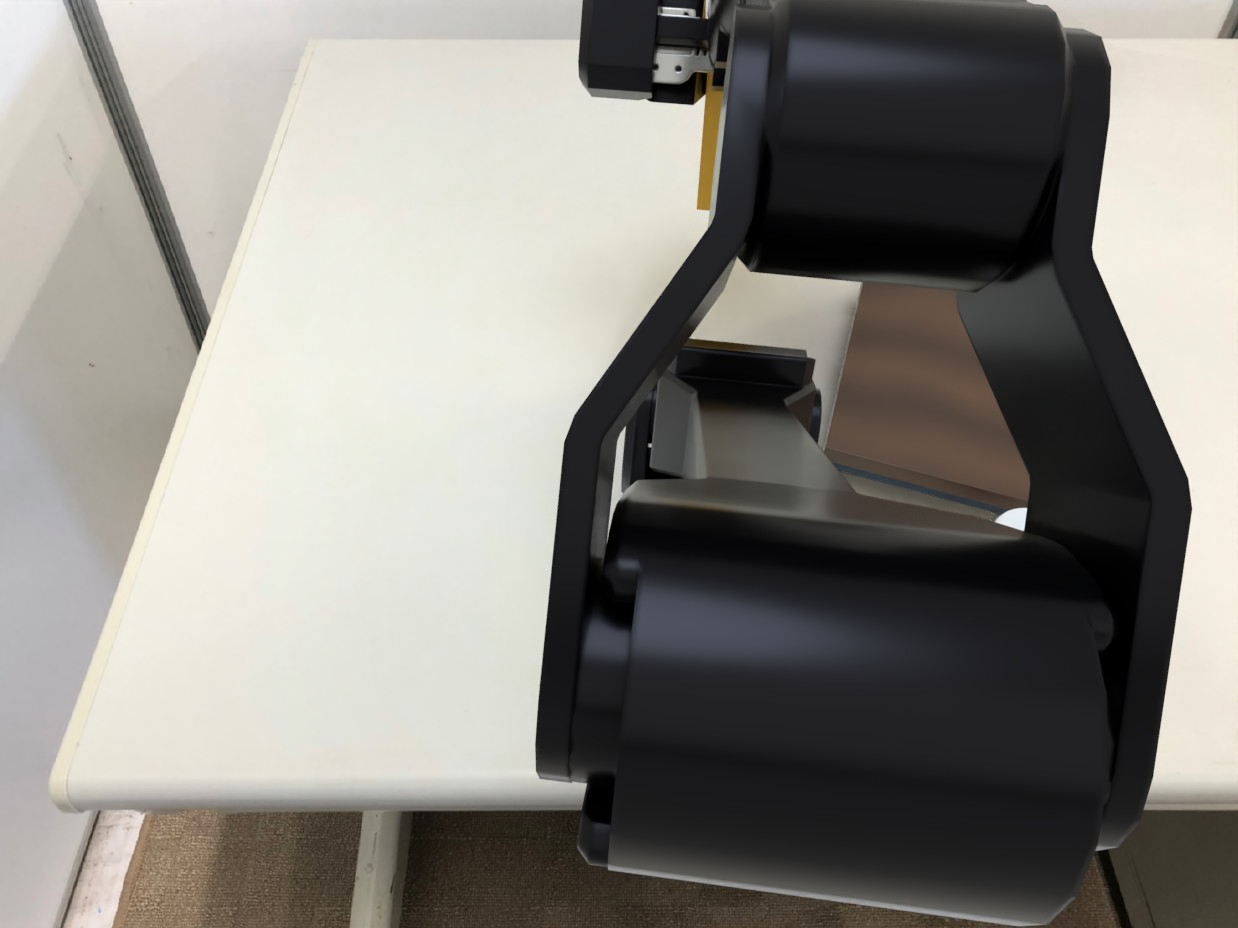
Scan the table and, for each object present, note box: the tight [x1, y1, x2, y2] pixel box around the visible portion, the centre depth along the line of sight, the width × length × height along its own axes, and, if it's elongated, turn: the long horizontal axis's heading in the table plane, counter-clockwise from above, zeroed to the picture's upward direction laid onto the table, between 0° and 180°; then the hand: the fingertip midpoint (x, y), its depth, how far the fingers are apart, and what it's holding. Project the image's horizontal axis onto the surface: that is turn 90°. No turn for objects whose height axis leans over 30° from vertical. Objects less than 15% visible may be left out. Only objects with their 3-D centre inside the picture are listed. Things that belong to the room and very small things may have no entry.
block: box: [696, 73, 723, 211], centre depth 48 cm, size 5×5×13 cm
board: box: [822, 282, 1030, 515], centre depth 50 cm, size 18×14×5 cm
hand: (748, 84), depth 49 cm, fingers closed on block, 5 cm apart
